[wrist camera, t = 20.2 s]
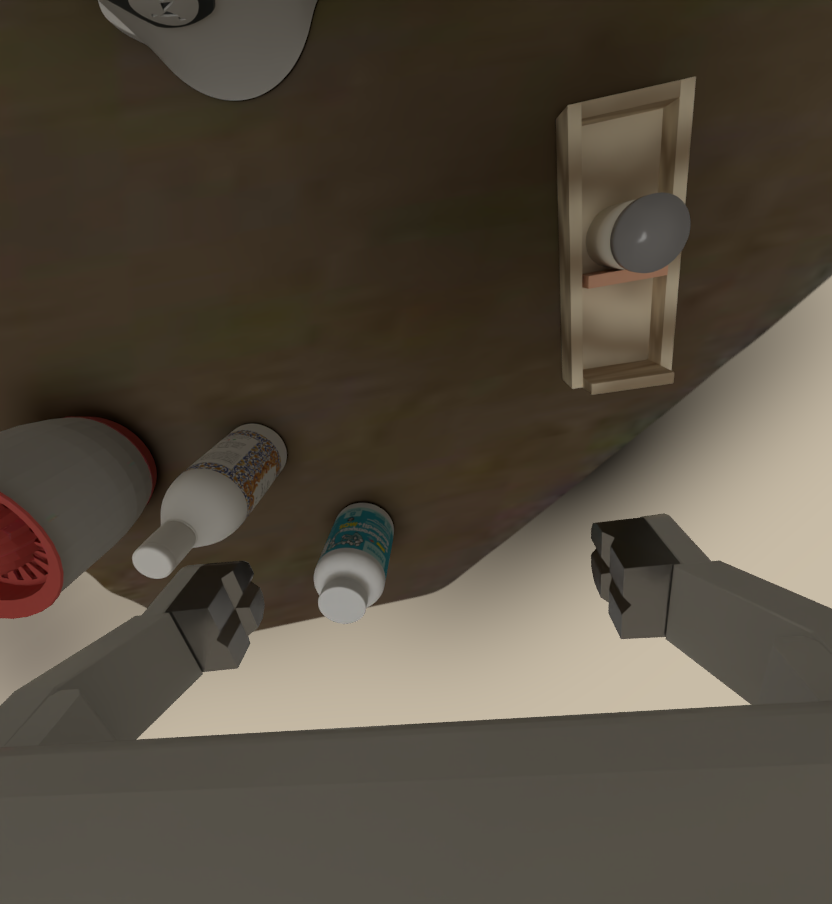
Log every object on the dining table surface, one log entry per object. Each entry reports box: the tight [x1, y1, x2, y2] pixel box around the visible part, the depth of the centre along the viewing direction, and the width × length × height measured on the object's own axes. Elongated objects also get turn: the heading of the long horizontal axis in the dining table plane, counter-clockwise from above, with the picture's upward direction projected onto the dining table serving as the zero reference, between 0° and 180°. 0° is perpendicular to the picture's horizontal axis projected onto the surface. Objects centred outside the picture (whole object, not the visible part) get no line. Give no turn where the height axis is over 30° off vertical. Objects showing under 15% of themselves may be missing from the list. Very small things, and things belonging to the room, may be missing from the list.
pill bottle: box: [314, 503, 394, 624], centre depth 46 cm, size 8×7×14 cm
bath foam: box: [132, 424, 287, 579], centre depth 39 cm, size 7×7×20 cm
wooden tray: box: [556, 77, 696, 395], centre depth 35 cm, size 22×9×6 cm, turn 10°
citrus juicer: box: [0, 416, 157, 619], centre depth 41 cm, size 16×17×20 cm
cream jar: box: [586, 192, 690, 273], centre depth 33 cm, size 5×5×7 cm
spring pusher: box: [582, 265, 668, 289], centre depth 36 cm, size 1×6×3 cm, turn 100°
